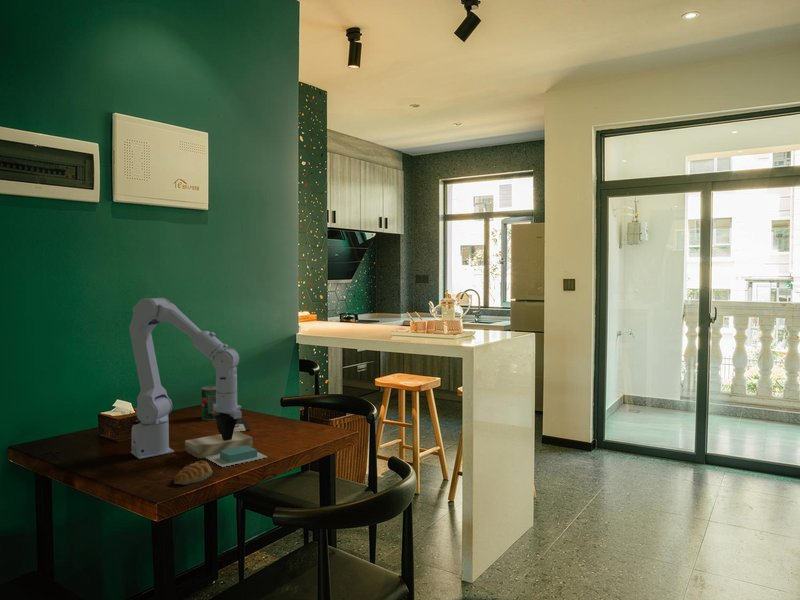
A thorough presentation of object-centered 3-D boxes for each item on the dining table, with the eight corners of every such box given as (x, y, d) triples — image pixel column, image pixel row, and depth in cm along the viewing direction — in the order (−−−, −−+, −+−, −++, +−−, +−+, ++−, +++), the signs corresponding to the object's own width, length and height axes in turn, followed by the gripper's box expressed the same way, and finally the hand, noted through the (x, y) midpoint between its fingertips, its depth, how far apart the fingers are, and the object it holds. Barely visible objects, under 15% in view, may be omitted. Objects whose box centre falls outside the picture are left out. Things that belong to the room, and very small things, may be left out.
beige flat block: (198, 458, 154) (198, 447, 154) (185, 450, 162) (185, 440, 162) (252, 447, 165) (252, 437, 165) (237, 440, 172) (237, 431, 172)
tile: (219, 450, 154) (219, 458, 154) (229, 455, 149) (229, 463, 149) (247, 445, 159) (247, 452, 159) (257, 449, 154) (257, 457, 154)
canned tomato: (229, 417, 204) (228, 387, 203) (209, 421, 198) (208, 390, 198) (217, 414, 209) (216, 384, 209) (197, 418, 203) (197, 387, 203)
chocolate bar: (244, 417, 201) (249, 429, 184) (244, 420, 201) (249, 432, 184) (218, 420, 197) (221, 432, 181) (218, 422, 197) (221, 435, 181)
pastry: (188, 488, 132) (188, 472, 132) (166, 485, 134) (165, 469, 134) (214, 475, 141) (214, 460, 141) (192, 473, 143) (192, 458, 143)
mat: (222, 468, 146) (222, 466, 146) (204, 457, 155) (204, 456, 155) (267, 458, 155) (267, 456, 155) (248, 448, 164) (248, 447, 164)
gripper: (251, 393, 156) (252, 442, 156) (229, 386, 167) (229, 432, 167) (227, 396, 151) (227, 447, 152) (205, 389, 162) (206, 436, 163)
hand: (227, 439), depth 159 cm, fingers closed
